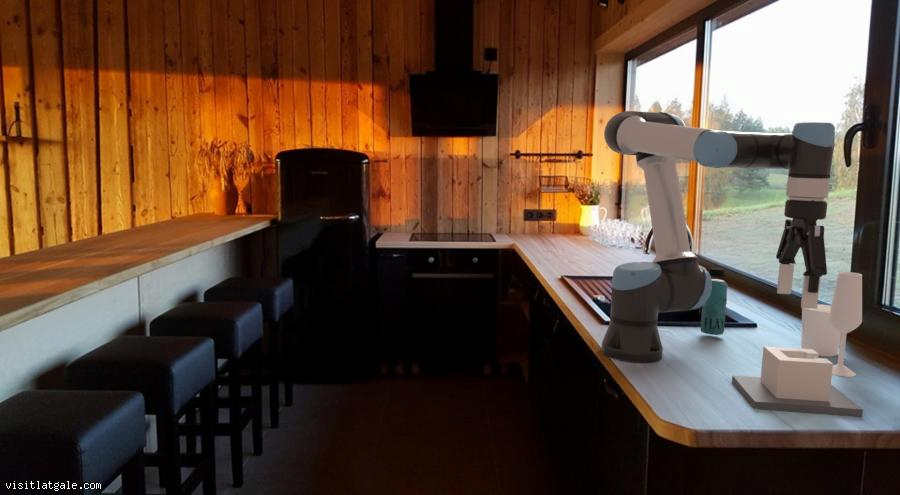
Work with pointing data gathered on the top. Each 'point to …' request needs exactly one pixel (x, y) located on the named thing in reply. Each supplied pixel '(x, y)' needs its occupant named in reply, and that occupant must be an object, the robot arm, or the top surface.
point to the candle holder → (819, 331)
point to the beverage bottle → (715, 305)
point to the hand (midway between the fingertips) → (795, 300)
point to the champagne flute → (846, 313)
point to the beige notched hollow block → (796, 373)
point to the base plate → (766, 400)
